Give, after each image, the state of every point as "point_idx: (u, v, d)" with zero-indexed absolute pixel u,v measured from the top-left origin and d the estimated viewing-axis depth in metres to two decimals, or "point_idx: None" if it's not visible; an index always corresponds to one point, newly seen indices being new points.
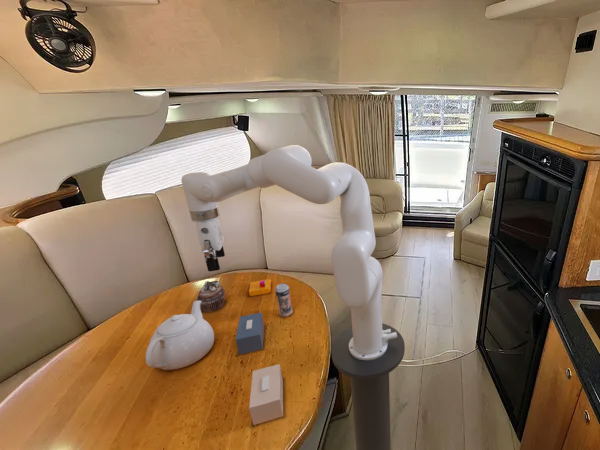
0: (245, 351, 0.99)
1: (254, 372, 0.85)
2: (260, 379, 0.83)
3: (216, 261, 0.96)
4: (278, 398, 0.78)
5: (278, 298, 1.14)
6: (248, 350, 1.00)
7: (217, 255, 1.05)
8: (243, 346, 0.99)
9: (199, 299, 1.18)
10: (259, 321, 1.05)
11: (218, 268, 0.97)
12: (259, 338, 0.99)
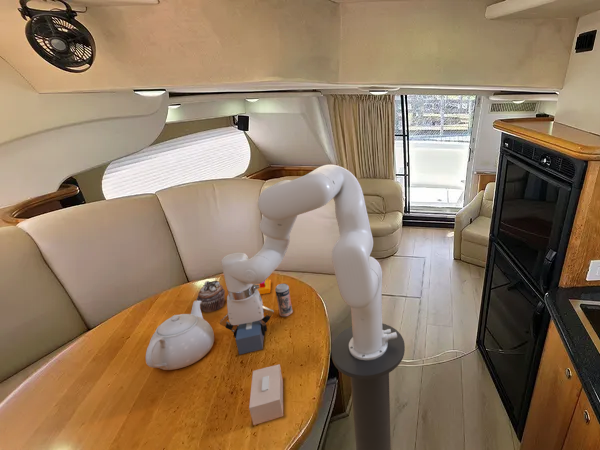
0: (245, 351, 0.99)
1: (254, 372, 0.85)
2: (260, 379, 0.83)
3: None
4: (278, 398, 0.78)
5: (278, 298, 1.14)
6: (248, 350, 1.00)
7: None
8: (243, 346, 0.99)
9: (199, 299, 1.18)
10: None
11: None
12: (259, 338, 0.99)
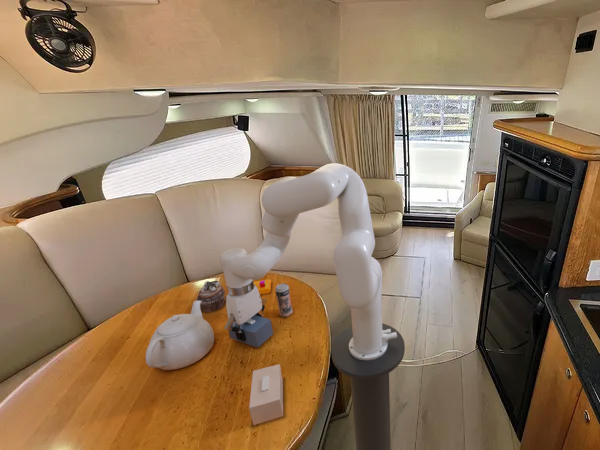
0: (261, 342, 1.01)
1: (254, 372, 0.85)
2: (260, 379, 0.83)
3: None
4: (278, 398, 0.78)
5: (278, 298, 1.14)
6: (263, 340, 1.02)
7: None
8: (260, 336, 1.00)
9: (199, 299, 1.18)
10: None
11: None
12: (270, 323, 1.04)
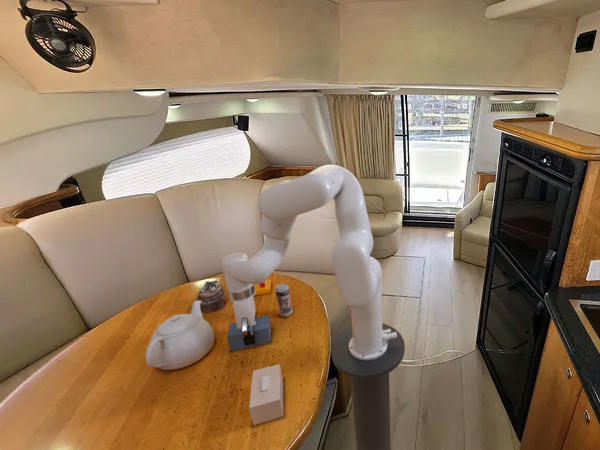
0: (270, 336, 1.06)
1: (254, 372, 0.85)
2: (260, 379, 0.83)
3: None
4: (278, 398, 0.78)
5: (278, 298, 1.14)
6: (270, 334, 1.06)
7: None
8: (269, 331, 1.05)
9: (199, 299, 1.18)
10: None
11: None
12: None
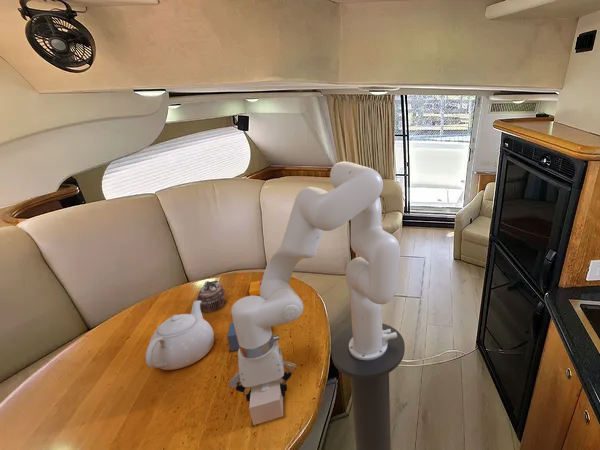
0: None
1: None
2: None
3: None
4: (278, 398, 0.78)
5: None
6: None
7: None
8: None
9: (199, 299, 1.18)
10: None
11: None
12: None
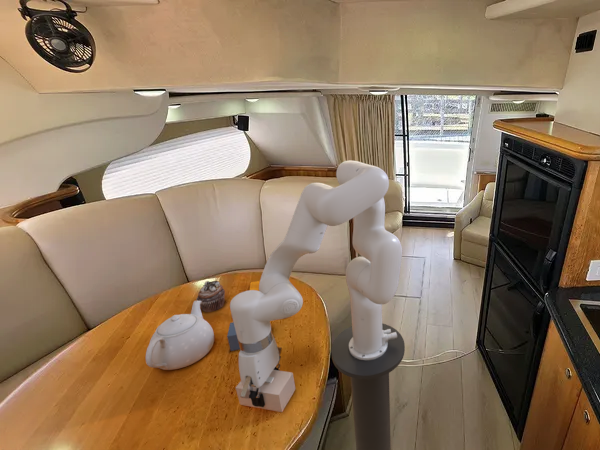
0: None
1: (239, 386, 0.79)
2: None
3: None
4: (290, 373, 0.83)
5: None
6: None
7: None
8: None
9: (199, 299, 1.18)
10: None
11: None
12: None
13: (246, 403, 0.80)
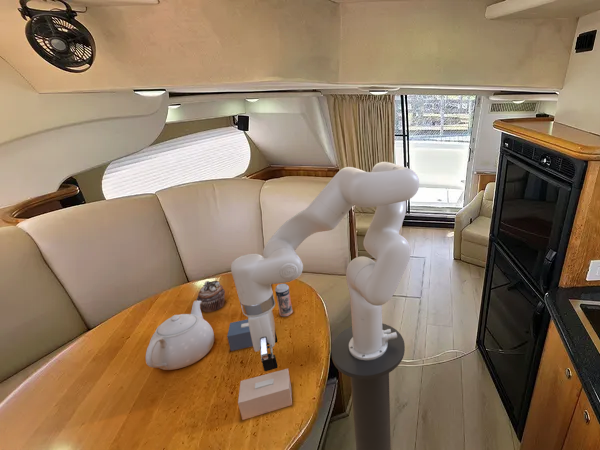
0: None
1: (241, 400, 0.77)
2: (255, 391, 0.79)
3: None
4: (286, 369, 0.86)
5: (278, 298, 1.14)
6: None
7: None
8: None
9: (199, 299, 1.18)
10: (246, 320, 1.06)
11: None
12: None
13: (250, 415, 0.79)
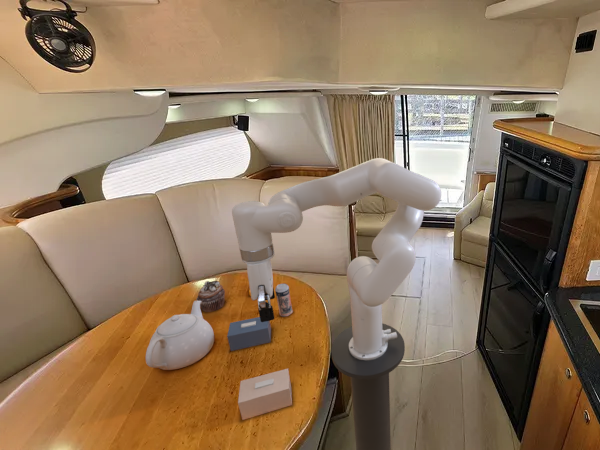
0: (270, 336, 1.06)
1: (241, 400, 0.77)
2: (255, 391, 0.79)
3: None
4: (286, 369, 0.86)
5: (278, 298, 1.14)
6: (270, 334, 1.06)
7: None
8: (269, 331, 1.05)
9: (199, 299, 1.18)
10: (246, 320, 1.06)
11: None
12: None
13: (250, 415, 0.79)
